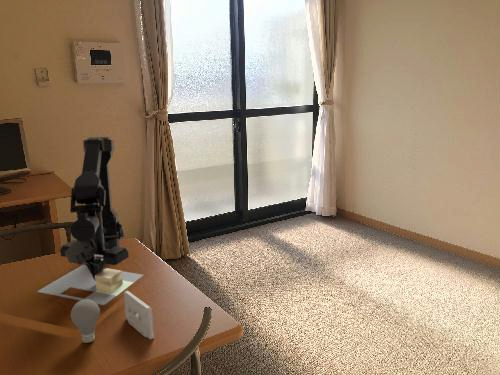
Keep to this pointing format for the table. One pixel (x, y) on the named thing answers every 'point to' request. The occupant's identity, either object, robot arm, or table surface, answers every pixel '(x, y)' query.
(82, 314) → the light bulb
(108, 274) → the maple block
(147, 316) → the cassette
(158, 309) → the table surface
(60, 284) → the board
